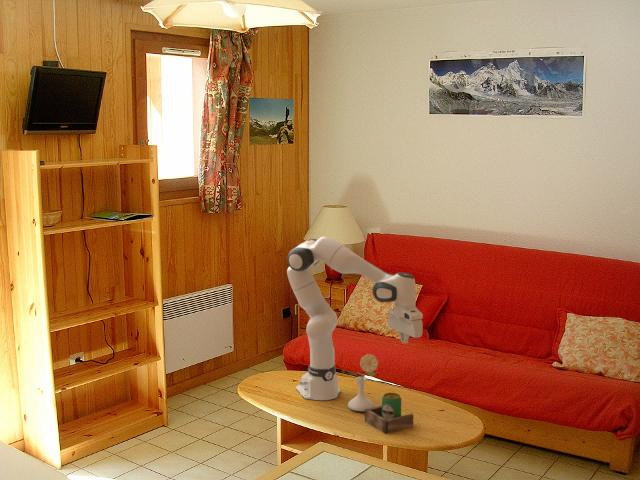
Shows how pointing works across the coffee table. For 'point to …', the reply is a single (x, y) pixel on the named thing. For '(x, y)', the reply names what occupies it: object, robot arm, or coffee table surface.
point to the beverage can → (391, 406)
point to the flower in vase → (361, 400)
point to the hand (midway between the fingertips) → (404, 342)
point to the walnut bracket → (390, 425)
